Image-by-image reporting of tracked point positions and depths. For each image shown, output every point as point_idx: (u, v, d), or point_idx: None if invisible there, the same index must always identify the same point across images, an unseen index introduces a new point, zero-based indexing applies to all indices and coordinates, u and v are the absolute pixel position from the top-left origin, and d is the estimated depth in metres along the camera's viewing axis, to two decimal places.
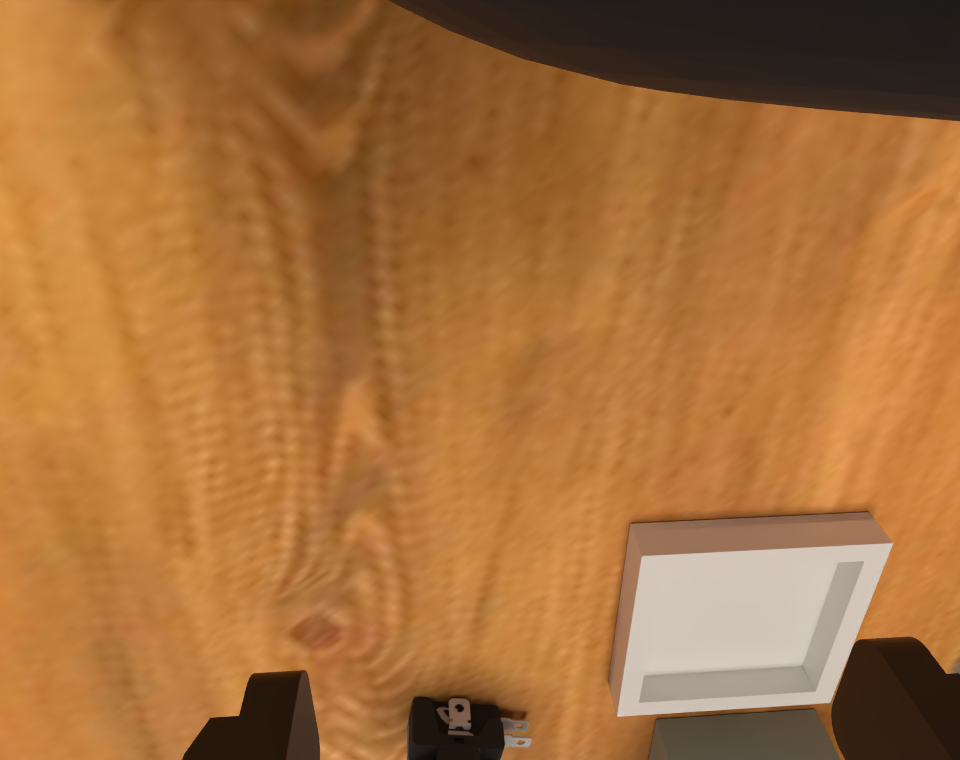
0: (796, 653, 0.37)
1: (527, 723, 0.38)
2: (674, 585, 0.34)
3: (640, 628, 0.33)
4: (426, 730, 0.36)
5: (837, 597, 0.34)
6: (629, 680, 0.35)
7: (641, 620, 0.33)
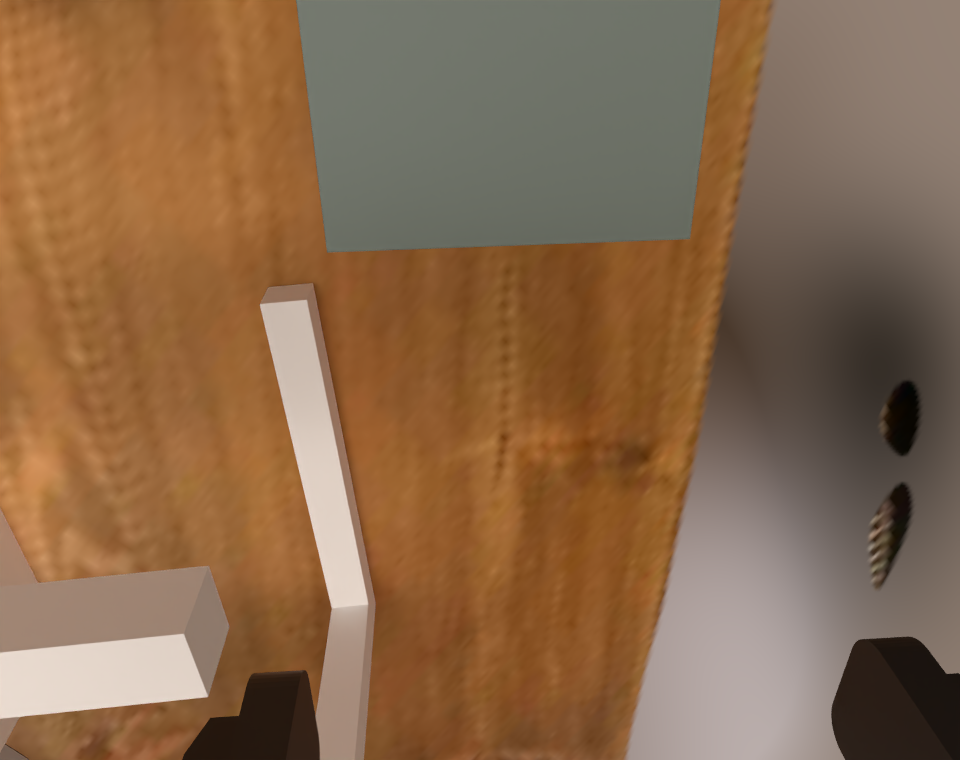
0: None
1: None
2: None
3: None
4: None
5: None
6: None
7: None
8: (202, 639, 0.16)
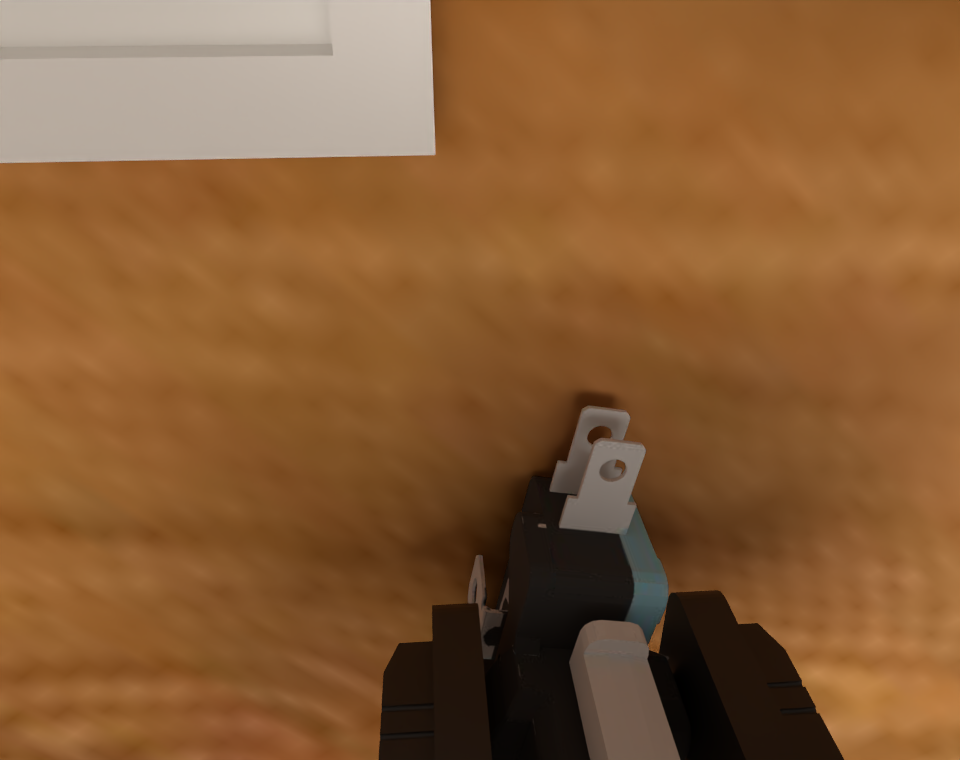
0: None
1: (589, 413, 0.11)
2: None
3: None
4: None
5: None
6: (165, 126, 0.08)
7: None
8: None
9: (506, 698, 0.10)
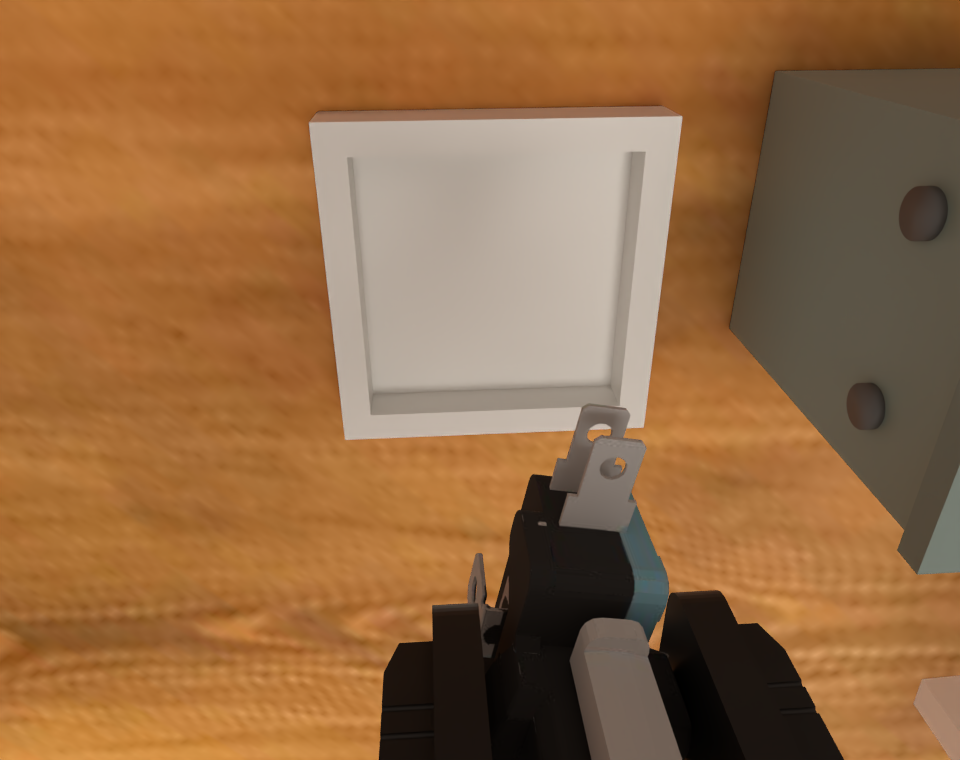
0: (600, 159, 0.23)
1: (588, 411, 0.11)
2: (439, 360, 0.27)
3: (469, 424, 0.26)
4: None
5: None
6: (569, 422, 0.27)
7: (455, 425, 0.26)
8: None
9: (507, 697, 0.10)
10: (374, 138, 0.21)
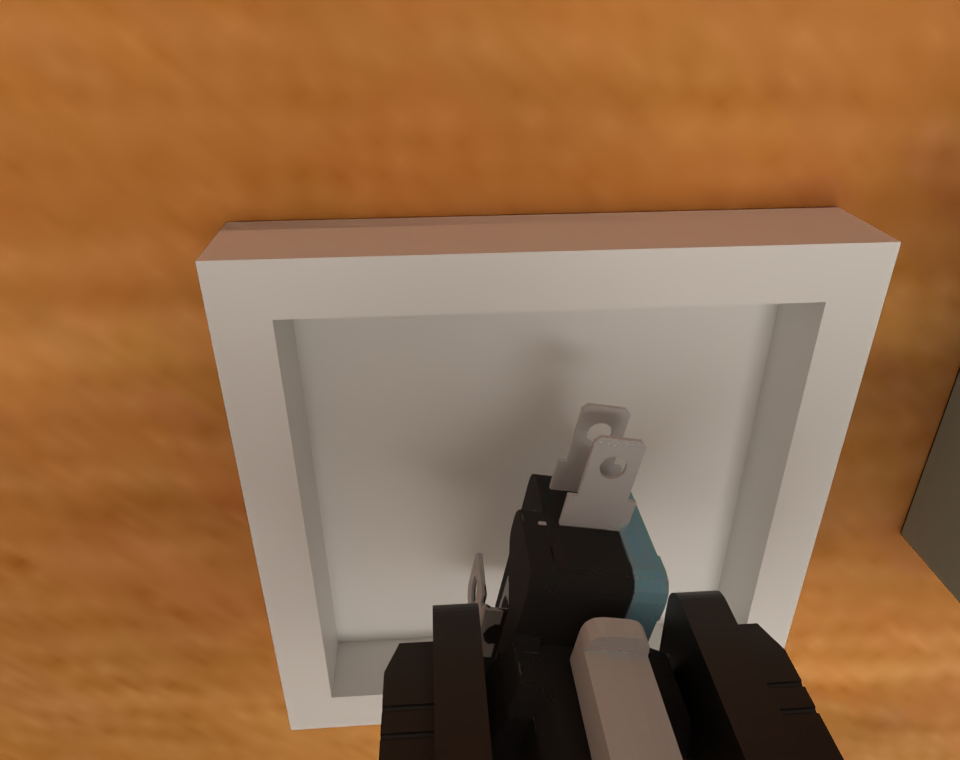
0: None
1: (588, 410, 0.11)
2: (443, 595, 0.17)
3: None
4: None
5: None
6: None
7: None
8: None
9: (506, 696, 0.10)
10: (323, 287, 0.11)
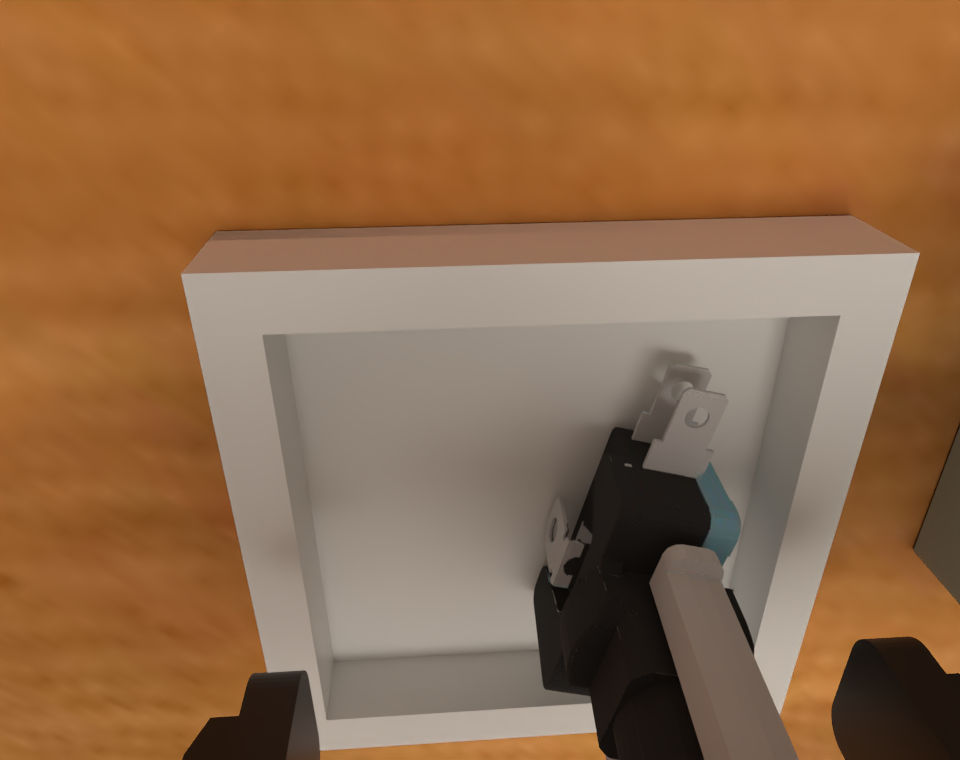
0: None
1: (675, 368, 0.13)
2: (442, 613, 0.16)
3: (493, 725, 0.16)
4: (549, 637, 0.14)
5: None
6: None
7: (469, 727, 0.16)
8: None
9: (593, 608, 0.12)
10: (315, 300, 0.11)
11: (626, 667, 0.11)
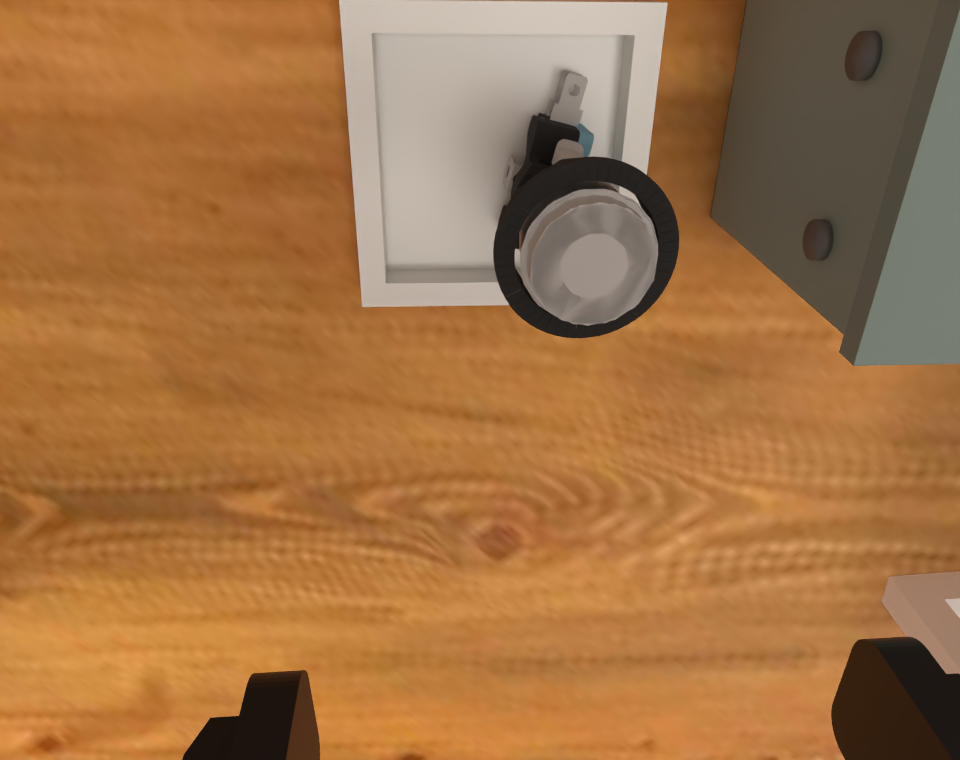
0: (594, 48, 0.26)
1: (565, 73, 0.26)
2: (448, 238, 0.30)
3: (474, 295, 0.29)
4: None
5: None
6: None
7: (461, 295, 0.29)
8: None
9: (525, 171, 0.25)
10: (396, 16, 0.24)
11: None
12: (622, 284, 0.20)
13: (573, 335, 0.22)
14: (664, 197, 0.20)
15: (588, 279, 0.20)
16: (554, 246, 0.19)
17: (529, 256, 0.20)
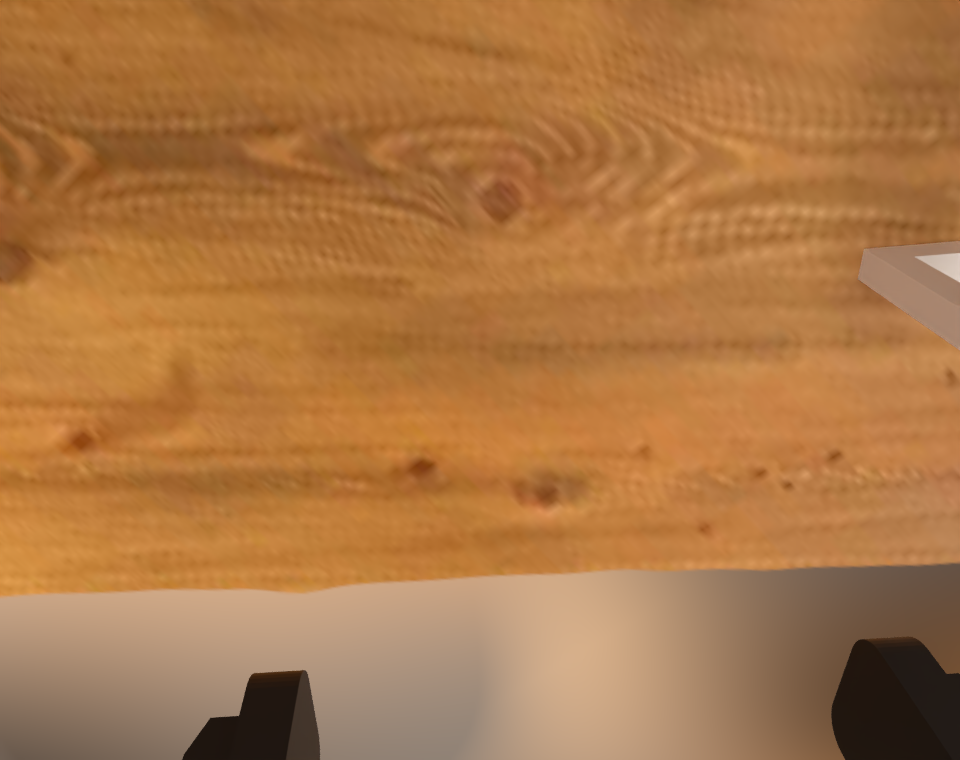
0: None
1: None
2: None
3: None
4: None
5: None
6: None
7: None
8: None
9: None
10: None
11: None
12: None
13: None
14: None
15: None
16: None
17: None
